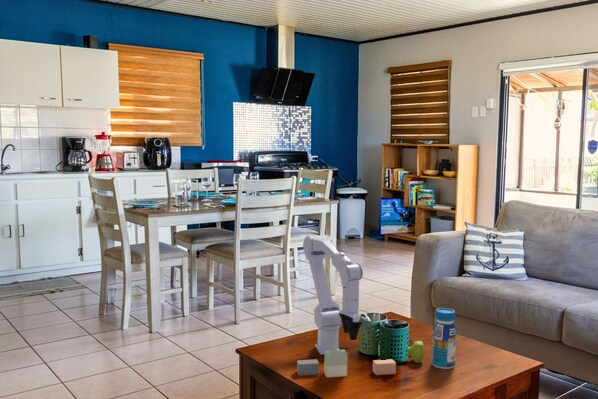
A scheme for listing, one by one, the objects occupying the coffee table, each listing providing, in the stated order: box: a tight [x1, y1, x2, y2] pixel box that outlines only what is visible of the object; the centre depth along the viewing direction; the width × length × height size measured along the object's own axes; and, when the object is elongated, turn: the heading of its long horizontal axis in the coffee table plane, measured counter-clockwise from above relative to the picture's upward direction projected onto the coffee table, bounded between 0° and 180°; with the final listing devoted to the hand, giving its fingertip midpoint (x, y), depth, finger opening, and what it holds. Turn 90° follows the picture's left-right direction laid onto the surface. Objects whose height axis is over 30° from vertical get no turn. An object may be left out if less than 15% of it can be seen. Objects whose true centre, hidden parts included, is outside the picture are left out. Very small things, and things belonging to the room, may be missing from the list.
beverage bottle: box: [431, 307, 458, 370], centre depth 209 cm, size 8×8×20 cm
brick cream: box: [323, 361, 348, 378], centre depth 200 cm, size 4×7×4 cm, turn 101°
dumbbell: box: [377, 340, 425, 364], centre depth 214 cm, size 16×8×7 cm, turn 77°
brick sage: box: [324, 349, 348, 366], centre depth 200 cm, size 4×7×4 cm, turn 101°
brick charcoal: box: [296, 358, 320, 376], centre depth 201 cm, size 4×7×4 cm, turn 101°
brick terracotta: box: [372, 358, 397, 376], centre depth 203 cm, size 4×7×4 cm, turn 101°
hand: (350, 336), depth 208 cm, fingers open, 7 cm apart
